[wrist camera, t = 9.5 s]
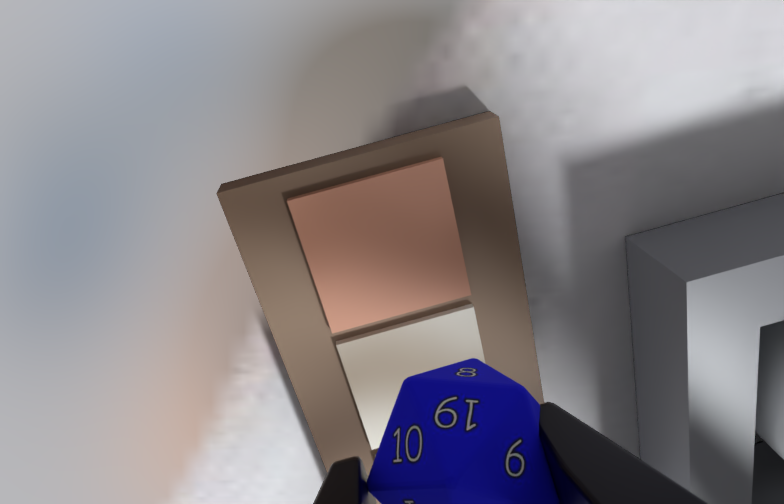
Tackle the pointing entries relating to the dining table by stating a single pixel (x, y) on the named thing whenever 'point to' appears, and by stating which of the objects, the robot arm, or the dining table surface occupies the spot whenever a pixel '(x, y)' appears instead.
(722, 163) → the dining table surface
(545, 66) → the dining table surface
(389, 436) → the die
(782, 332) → the dome
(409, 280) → the game track
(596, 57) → the dining table surface
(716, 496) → the dome collar
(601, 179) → the dining table surface
